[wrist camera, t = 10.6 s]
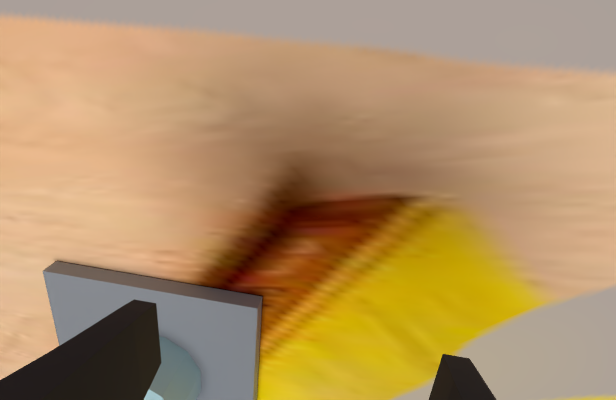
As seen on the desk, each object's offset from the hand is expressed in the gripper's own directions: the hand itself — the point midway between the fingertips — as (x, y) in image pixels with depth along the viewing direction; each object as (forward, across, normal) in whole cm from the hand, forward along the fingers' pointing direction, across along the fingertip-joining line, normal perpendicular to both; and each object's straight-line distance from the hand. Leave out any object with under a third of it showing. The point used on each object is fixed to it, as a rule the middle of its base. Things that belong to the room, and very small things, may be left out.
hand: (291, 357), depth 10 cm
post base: (+9, +9, +12) cm, 18 cm away
